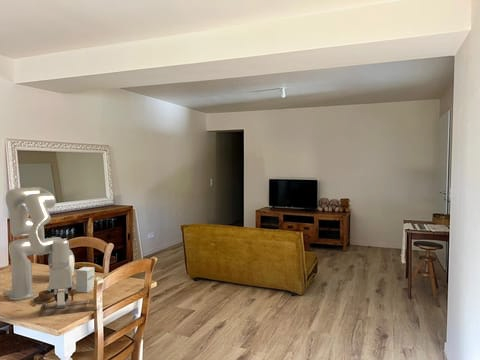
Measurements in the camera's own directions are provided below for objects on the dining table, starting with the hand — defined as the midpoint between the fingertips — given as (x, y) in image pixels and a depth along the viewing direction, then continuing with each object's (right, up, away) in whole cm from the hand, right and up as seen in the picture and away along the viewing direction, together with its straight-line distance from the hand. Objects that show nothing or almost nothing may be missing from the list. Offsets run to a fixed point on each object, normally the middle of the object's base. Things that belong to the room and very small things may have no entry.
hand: (61, 300), depth 173 cm
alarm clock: (-26, -3, +50) cm, 56 cm away
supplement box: (-1, -4, +28) cm, 29 cm away
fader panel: (+4, -5, +1) cm, 6 cm away
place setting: (-12, -5, +12) cm, 17 cm away
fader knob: (0, -2, 0) cm, 2 cm away
